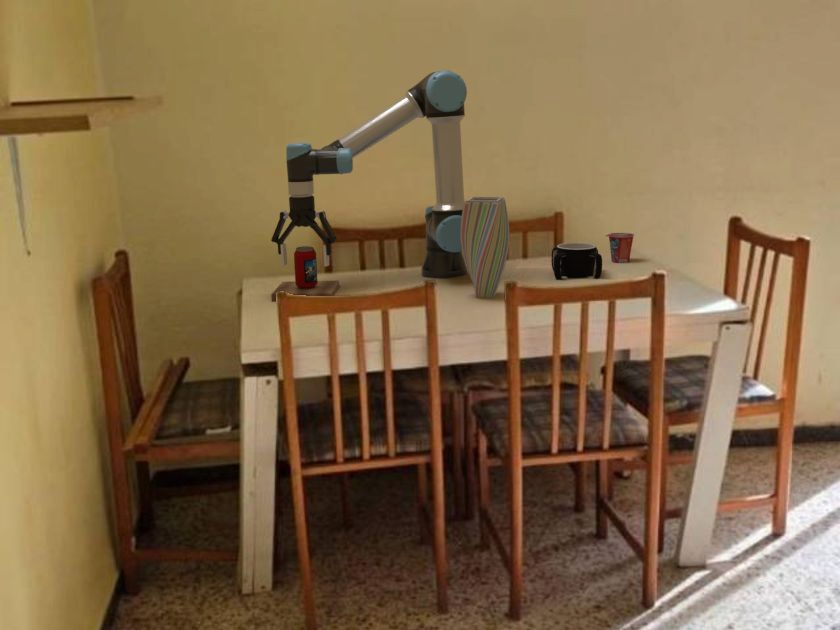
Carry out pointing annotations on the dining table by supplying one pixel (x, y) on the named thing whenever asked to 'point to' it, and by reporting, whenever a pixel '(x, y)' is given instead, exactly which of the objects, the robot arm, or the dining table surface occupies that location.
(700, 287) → the dining table surface
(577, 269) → the black round container
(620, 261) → the cup
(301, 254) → the beverage can
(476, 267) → the vase
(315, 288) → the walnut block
